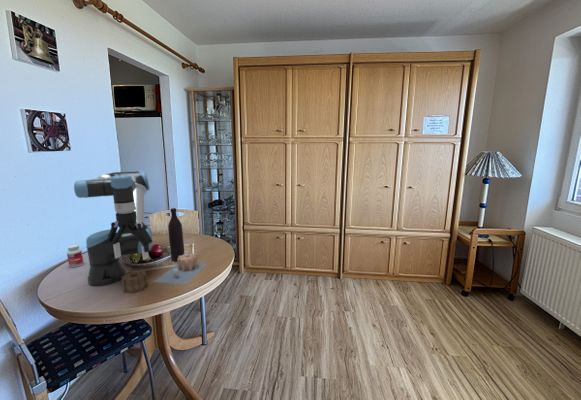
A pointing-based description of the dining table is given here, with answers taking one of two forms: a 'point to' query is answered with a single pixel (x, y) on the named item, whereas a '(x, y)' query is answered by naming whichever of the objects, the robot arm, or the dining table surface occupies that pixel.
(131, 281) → the gear
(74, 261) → the pill bottle
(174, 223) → the wine bottle
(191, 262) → the gear
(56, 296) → the dining table surface
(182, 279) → the gear board
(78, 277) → the dining table surface
